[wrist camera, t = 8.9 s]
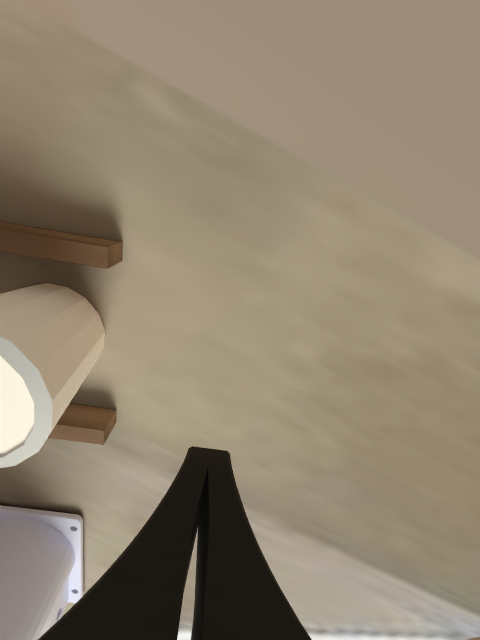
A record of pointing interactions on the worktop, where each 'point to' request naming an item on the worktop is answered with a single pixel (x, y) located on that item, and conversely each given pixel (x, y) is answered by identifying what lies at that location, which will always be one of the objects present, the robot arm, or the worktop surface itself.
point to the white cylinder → (42, 362)
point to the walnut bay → (79, 250)
